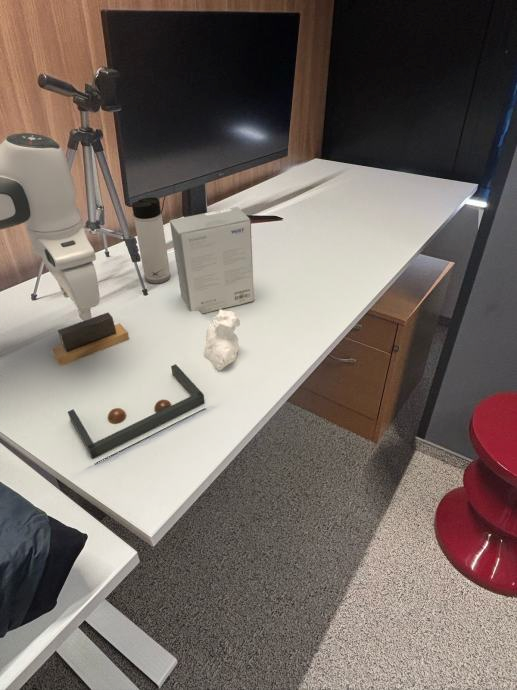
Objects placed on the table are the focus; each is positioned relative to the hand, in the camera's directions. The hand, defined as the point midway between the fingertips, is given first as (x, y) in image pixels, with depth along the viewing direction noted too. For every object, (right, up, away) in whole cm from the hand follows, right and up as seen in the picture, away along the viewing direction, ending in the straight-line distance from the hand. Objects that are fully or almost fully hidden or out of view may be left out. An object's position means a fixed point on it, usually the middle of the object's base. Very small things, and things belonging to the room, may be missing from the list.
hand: (76, 306), depth 89 cm
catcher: (+14, -20, -7) cm, 25 cm away
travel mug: (+9, +9, +30) cm, 33 cm away
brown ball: (+18, -18, -8) cm, 26 cm away
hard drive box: (+24, +3, +21) cm, 33 cm away
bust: (+27, -10, +5) cm, 29 cm away
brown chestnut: (+10, -19, -9) cm, 24 cm away
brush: (+1, -9, +7) cm, 11 cm away
